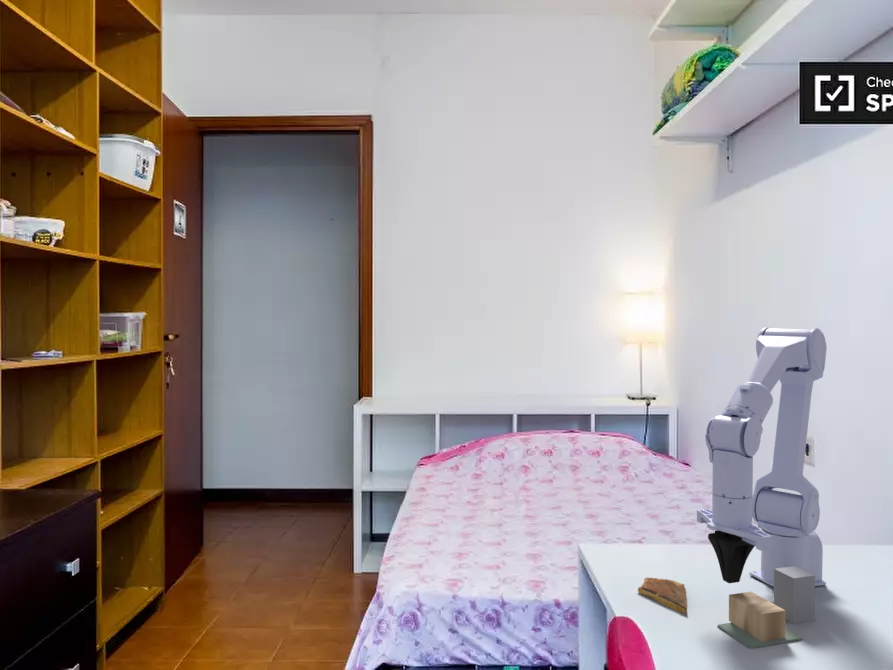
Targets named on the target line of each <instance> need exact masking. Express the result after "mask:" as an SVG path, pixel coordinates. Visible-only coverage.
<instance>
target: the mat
mask: <svg viewBox="0 0 893 670" xmlns="http://www.w3.org/2000/svg"><path fill="white" fill-rule="evenodd" d="M717 628H718V629H720V630H722V631H723V632H725V633H726V634H728V635H729V636H731V637H732V638H733V639H735V640H737V641H738V642H740V643H741V644H743V645H744V646H746V647H748V648H749V649H756V648H761V647H768V646H773V645H780V644H785V643H791V642H797V641H802V640H804V639H803V637H802V636H801V635H799V634H798V633H795V631H793V630H791V629H789V628H787V627H786V626H785V638H782V639H776V640H770V641H764V642H761V641H760V640H758V639H757V638H755V637H754V636H752V635H750V634H749V633H747V632H746V631H744V630H743V629H741V628H739V627H738V626H736V625H735V624H733V623H732V622H726V623H720V624H717Z"/></svg>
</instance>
